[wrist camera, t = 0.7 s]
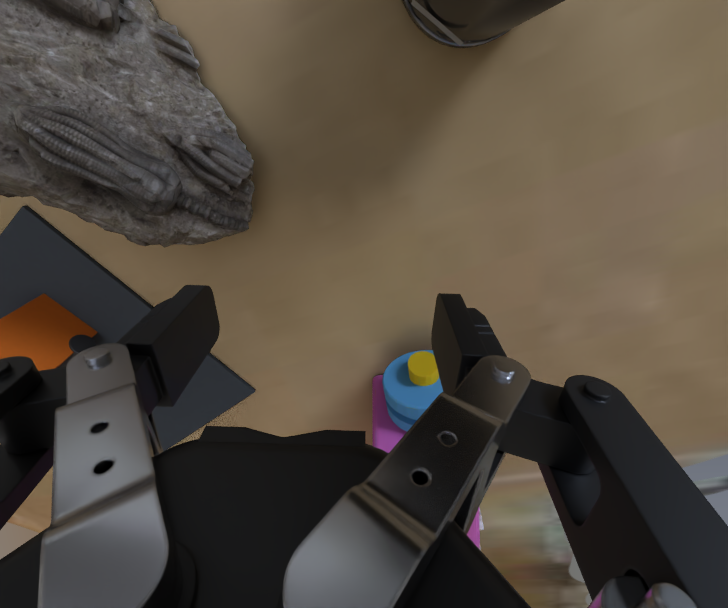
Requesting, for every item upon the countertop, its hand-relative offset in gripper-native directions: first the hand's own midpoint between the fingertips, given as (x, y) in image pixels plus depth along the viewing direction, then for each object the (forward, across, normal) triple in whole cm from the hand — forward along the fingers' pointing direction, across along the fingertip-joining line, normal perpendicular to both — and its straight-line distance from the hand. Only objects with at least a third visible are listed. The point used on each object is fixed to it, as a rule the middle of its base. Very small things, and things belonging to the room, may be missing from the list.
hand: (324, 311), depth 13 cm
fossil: (+18, +16, -6) cm, 25 cm away
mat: (+18, +26, +17) cm, 36 cm away
